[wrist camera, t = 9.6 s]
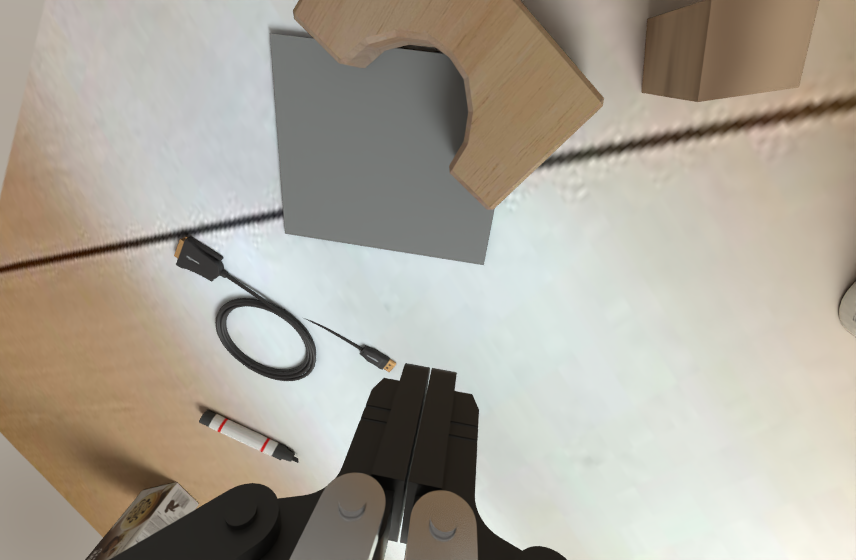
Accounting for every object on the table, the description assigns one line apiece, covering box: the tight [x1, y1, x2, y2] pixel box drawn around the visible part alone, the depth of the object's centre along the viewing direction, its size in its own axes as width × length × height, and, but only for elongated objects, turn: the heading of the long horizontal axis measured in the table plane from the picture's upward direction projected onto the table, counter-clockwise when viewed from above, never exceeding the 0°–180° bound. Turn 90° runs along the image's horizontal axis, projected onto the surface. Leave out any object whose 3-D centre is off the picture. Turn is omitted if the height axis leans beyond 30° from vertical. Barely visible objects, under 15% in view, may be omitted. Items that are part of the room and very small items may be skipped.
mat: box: [270, 33, 495, 265], centre depth 37 cm, size 21×18×1 cm
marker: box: [199, 410, 298, 463], centre depth 58 cm, size 15×2×2 cm, turn 62°
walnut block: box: [642, 0, 819, 102], centre depth 26 cm, size 5×5×10 cm
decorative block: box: [293, 0, 604, 210], centre depth 30 cm, size 11×6×20 cm
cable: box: [174, 236, 396, 381], centre depth 49 cm, size 14×28×2 cm, turn 56°
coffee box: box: [85, 482, 199, 560], centre depth 64 cm, size 9×6×16 cm
